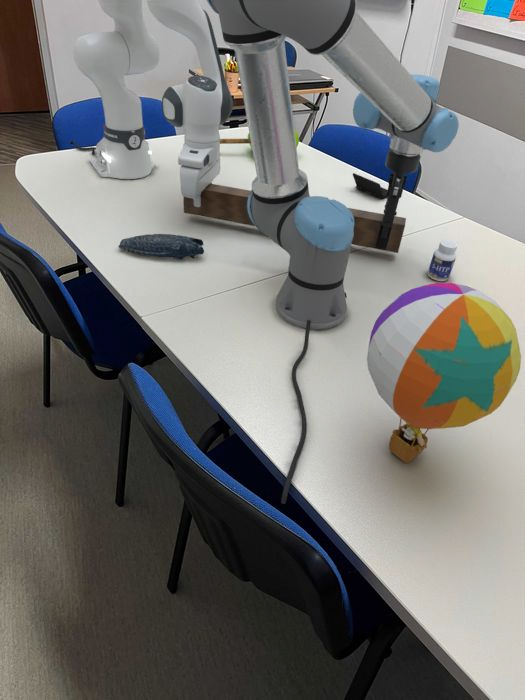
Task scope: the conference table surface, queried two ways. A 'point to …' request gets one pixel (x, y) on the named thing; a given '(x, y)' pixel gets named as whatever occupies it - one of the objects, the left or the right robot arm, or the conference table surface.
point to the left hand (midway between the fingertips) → (201, 201)
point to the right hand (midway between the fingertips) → (381, 243)
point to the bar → (234, 209)
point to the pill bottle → (442, 261)
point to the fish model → (163, 246)
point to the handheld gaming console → (370, 186)
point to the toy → (441, 360)
